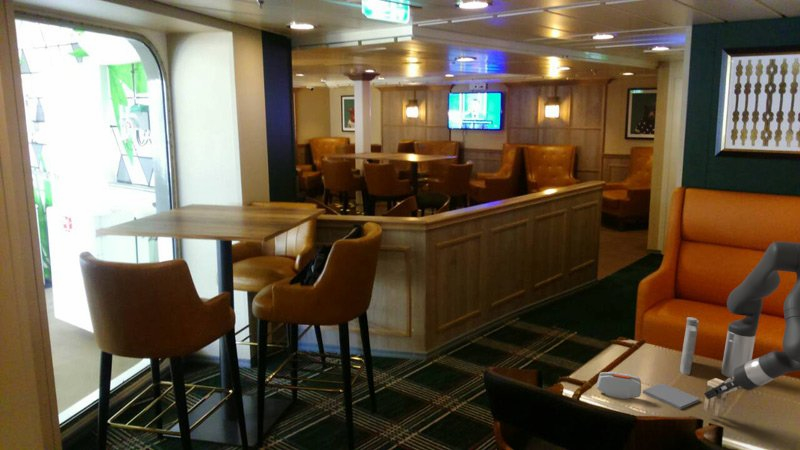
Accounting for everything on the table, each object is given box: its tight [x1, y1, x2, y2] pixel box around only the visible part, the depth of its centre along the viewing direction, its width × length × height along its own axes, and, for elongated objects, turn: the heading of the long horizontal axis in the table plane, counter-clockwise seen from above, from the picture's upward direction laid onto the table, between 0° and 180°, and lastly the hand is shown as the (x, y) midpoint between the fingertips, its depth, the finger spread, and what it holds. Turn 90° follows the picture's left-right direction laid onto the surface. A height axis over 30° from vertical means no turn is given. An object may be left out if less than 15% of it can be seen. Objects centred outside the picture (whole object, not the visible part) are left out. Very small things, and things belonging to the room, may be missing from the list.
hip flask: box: [679, 316, 699, 376], centre depth 241 cm, size 16×4×20 cm, turn 152°
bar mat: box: [642, 382, 701, 410], centre depth 216 cm, size 12×14×1 cm
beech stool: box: [703, 377, 730, 417], centre depth 201 cm, size 5×5×10 cm
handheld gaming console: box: [596, 371, 642, 400], centre depth 214 cm, size 14×3×8 cm, turn 74°
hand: (711, 394), depth 202 cm, fingers closed on beech stool, 4 cm apart
